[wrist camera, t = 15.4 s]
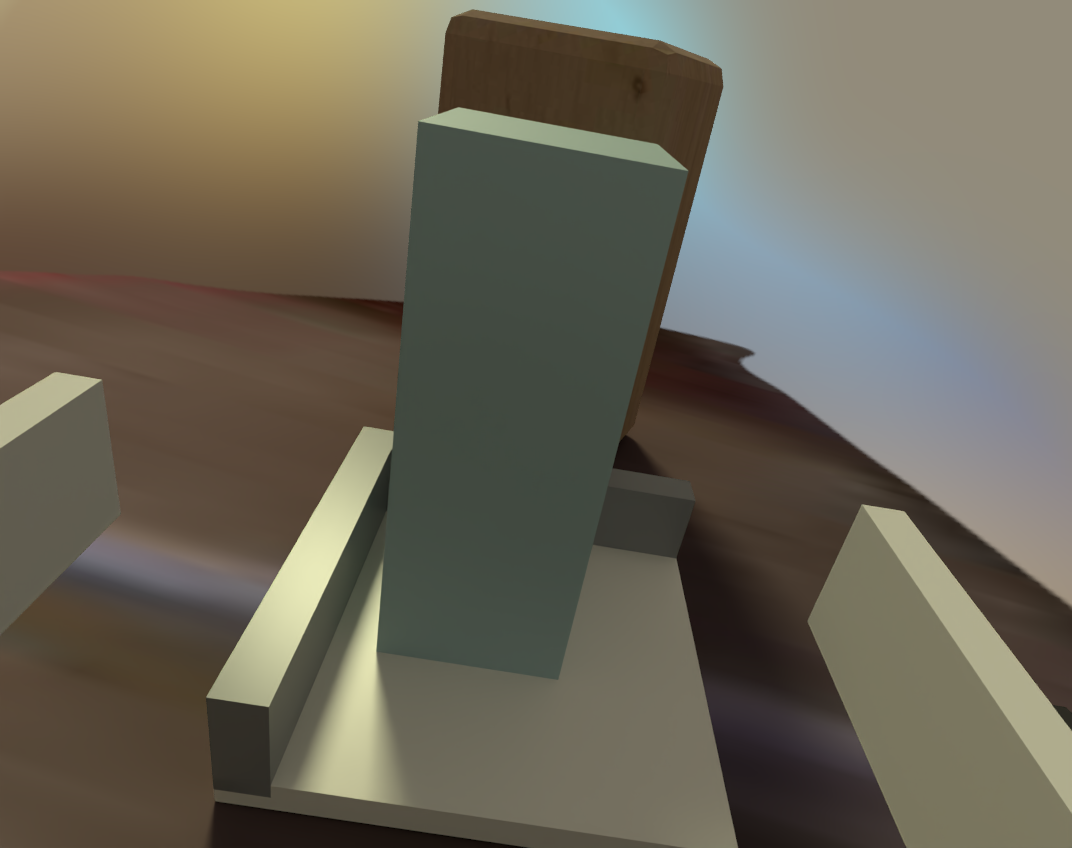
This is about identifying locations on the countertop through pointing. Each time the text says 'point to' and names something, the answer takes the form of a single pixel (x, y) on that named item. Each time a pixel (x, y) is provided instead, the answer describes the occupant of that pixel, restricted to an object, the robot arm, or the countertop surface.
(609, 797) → the corner jig
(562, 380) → the teal post
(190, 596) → the countertop surface
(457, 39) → the wooden block
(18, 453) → the robot arm
